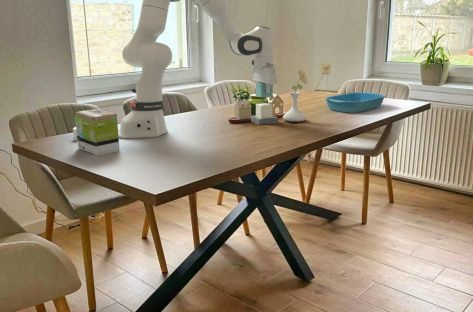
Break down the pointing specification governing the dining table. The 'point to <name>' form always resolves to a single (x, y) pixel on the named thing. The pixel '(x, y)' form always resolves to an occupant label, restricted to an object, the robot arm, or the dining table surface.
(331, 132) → the dining table surface
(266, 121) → the plate
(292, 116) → the flower in vase
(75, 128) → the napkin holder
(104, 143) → the tea box
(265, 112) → the cream block
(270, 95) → the teal block
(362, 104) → the casserole dish
